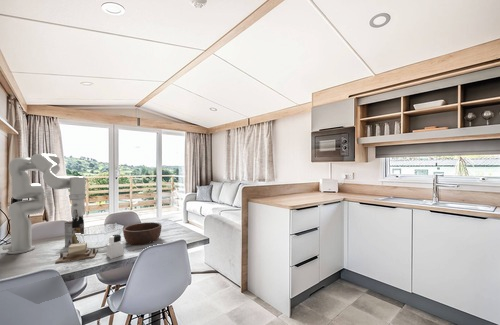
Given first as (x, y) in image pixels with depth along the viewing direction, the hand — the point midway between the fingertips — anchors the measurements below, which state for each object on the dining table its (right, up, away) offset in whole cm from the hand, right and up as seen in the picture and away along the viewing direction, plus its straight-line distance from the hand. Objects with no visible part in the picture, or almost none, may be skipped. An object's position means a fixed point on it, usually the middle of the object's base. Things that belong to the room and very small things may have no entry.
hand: (77, 225), depth 139 cm
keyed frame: (0, -18, 0) cm, 18 cm away
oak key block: (0, -17, 0) cm, 17 cm away
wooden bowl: (+26, -19, +28) cm, 42 cm away
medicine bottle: (+22, -18, +1) cm, 28 cm away
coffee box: (-18, -19, +22) cm, 34 cm away
